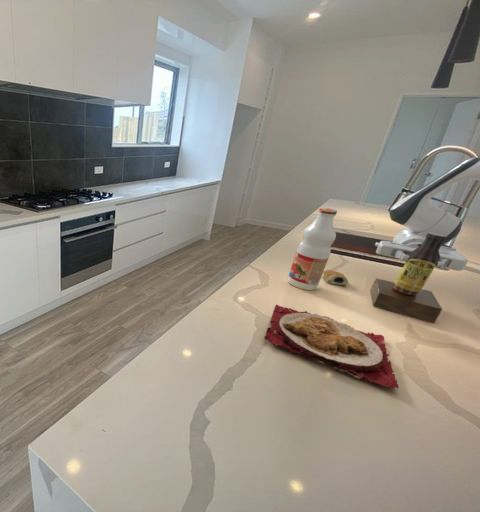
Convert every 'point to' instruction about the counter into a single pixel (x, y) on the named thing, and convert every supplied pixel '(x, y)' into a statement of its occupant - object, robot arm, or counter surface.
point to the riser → (405, 301)
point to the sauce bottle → (419, 265)
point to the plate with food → (332, 344)
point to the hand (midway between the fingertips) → (422, 261)
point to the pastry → (334, 277)
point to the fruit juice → (313, 251)
